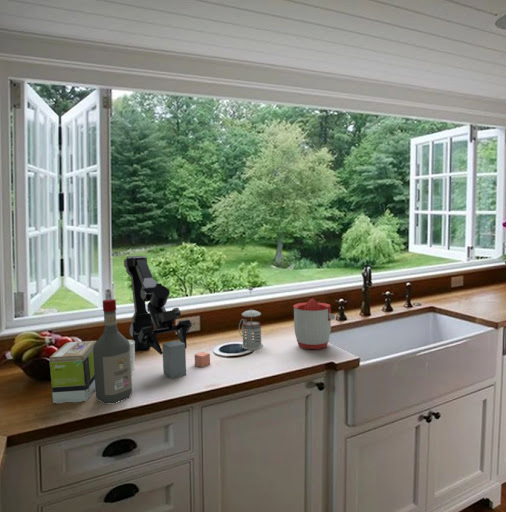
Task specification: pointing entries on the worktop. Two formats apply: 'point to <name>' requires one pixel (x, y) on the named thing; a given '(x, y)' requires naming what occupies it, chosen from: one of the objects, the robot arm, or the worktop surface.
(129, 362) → the liquor
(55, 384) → the tea box
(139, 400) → the worktop surface
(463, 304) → the worktop surface
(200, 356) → the red block
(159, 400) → the worktop surface
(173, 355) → the grey tall block
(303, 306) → the citrus juicer
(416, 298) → the worktop surface
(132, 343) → the white cup
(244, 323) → the french press
